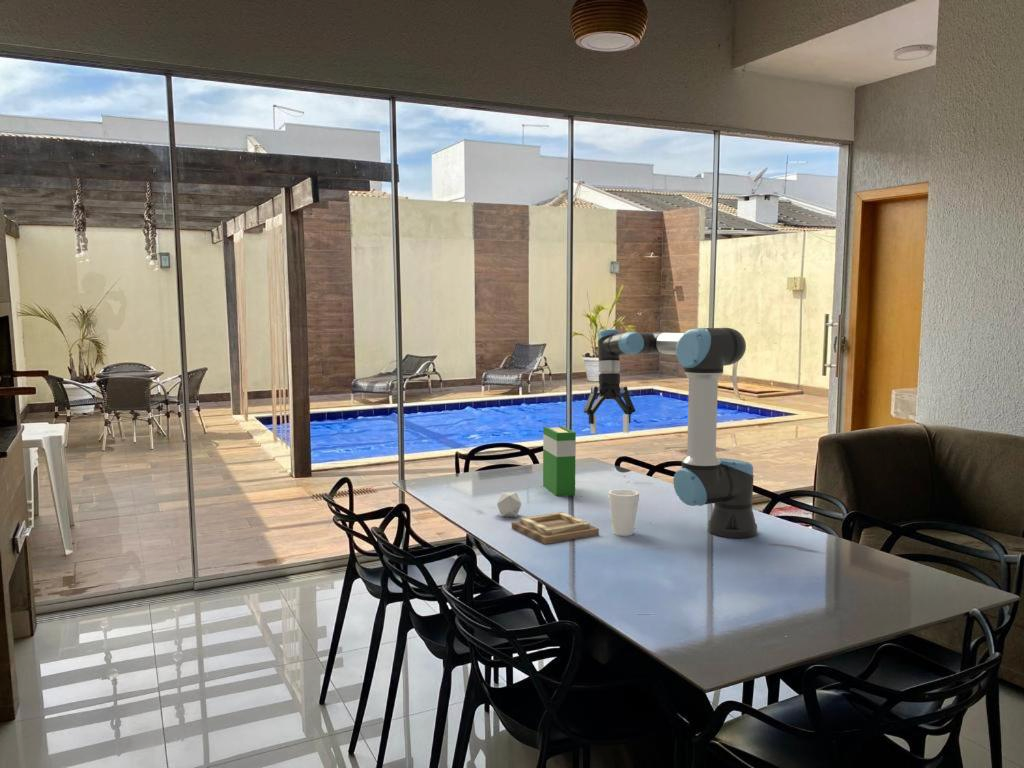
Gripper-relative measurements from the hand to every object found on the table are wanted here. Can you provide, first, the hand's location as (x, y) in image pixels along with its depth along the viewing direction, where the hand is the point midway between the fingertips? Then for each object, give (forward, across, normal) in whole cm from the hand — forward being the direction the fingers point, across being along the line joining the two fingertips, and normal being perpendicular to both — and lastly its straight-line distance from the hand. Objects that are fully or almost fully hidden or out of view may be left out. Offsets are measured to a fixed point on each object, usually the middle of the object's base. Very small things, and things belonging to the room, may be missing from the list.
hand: (610, 433), depth 284 cm
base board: (+30, +32, +16) cm, 47 cm away
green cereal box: (+23, +3, -32) cm, 40 cm away
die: (+28, +36, -7) cm, 46 cm away
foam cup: (+31, +13, +27) cm, 43 cm away
